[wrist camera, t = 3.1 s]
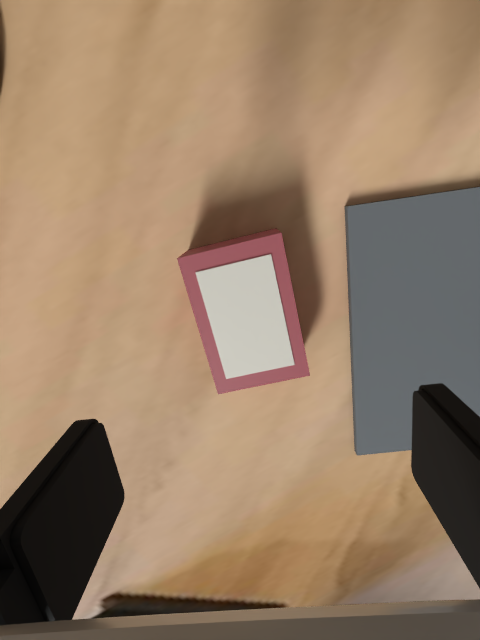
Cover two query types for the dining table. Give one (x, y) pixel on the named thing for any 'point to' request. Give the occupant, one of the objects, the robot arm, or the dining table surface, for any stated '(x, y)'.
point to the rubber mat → (411, 309)
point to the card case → (245, 310)
